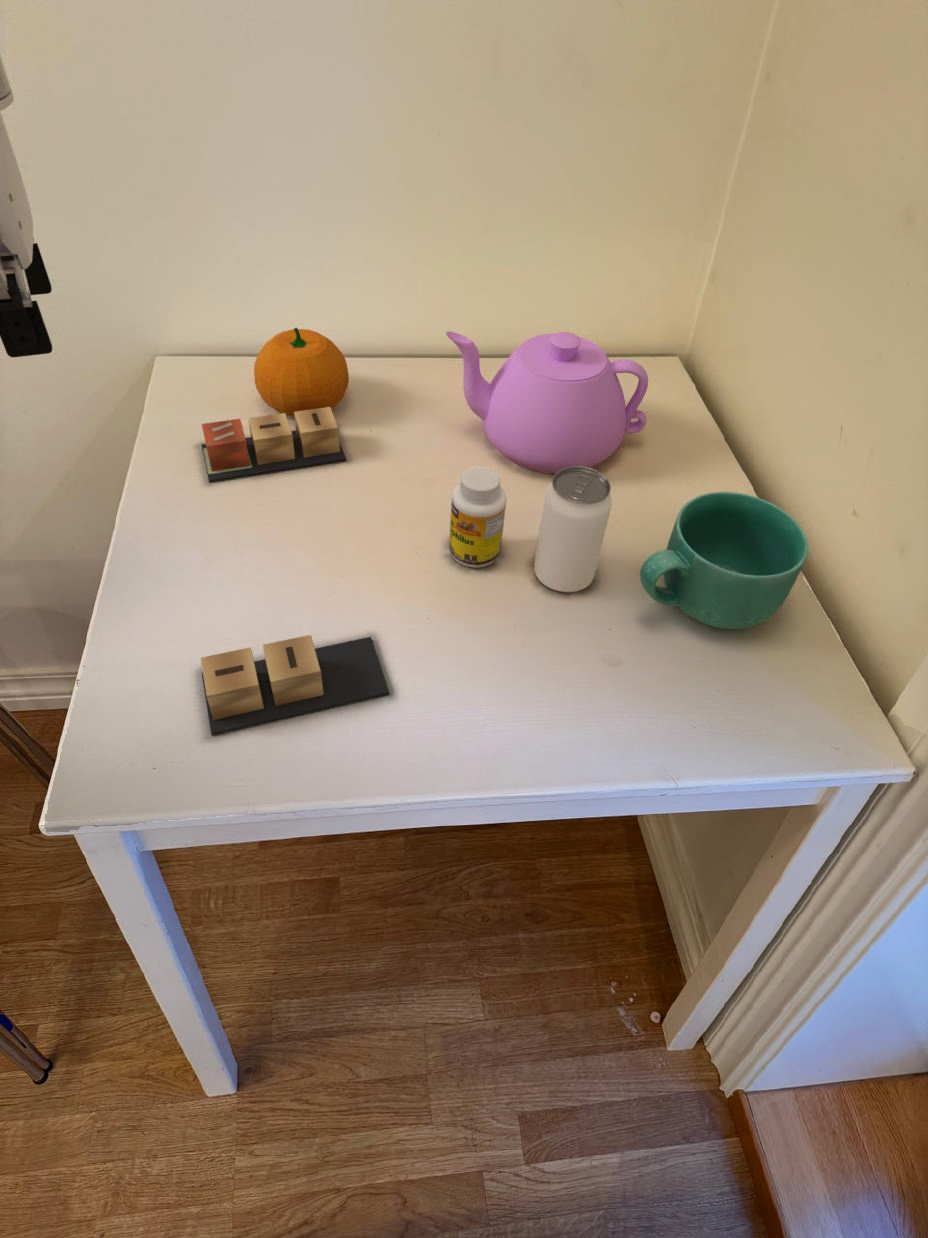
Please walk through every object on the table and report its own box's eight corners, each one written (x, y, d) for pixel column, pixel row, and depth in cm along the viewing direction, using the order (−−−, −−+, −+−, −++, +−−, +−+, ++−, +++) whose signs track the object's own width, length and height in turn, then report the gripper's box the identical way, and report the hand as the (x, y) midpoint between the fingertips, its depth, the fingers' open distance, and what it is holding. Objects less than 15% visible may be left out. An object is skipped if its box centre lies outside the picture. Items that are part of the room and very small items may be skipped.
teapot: (632, 403, 110) (655, 305, 100) (648, 487, 98) (676, 387, 88) (445, 392, 110) (448, 293, 100) (439, 476, 98) (442, 373, 88)
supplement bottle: (438, 547, 90) (441, 472, 82) (479, 528, 92) (485, 453, 84) (469, 577, 87) (475, 502, 79) (510, 557, 89) (520, 482, 82)
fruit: (238, 405, 105) (225, 333, 98) (299, 366, 112) (292, 295, 105) (309, 439, 101) (302, 366, 94) (368, 396, 108) (365, 325, 101)
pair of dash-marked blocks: (257, 465, 97) (253, 439, 94) (252, 443, 100) (247, 417, 97) (340, 452, 99) (338, 426, 97) (332, 431, 102) (330, 405, 99)
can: (524, 583, 87) (538, 493, 78) (544, 545, 91) (560, 456, 82) (583, 602, 85) (604, 514, 76) (601, 563, 89) (623, 474, 80)
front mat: (211, 736, 72) (211, 733, 72) (202, 675, 77) (201, 672, 76) (389, 694, 76) (389, 692, 76) (370, 639, 80) (370, 636, 80)
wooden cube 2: (275, 706, 74) (270, 681, 71) (267, 669, 77) (262, 643, 74) (324, 695, 75) (320, 670, 72) (314, 659, 78) (310, 633, 75)
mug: (739, 549, 92) (767, 482, 85) (799, 632, 84) (835, 566, 77) (602, 574, 88) (618, 505, 81) (651, 663, 80) (675, 596, 73)
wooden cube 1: (213, 720, 73) (206, 695, 70) (207, 682, 76) (200, 656, 73) (264, 709, 74) (258, 684, 71) (256, 671, 77) (250, 646, 74)
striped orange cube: (211, 471, 95) (206, 445, 93) (207, 449, 98) (201, 423, 95) (250, 465, 97) (245, 439, 94) (244, 443, 99) (240, 417, 97)
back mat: (209, 482, 95) (208, 479, 95) (202, 446, 99) (201, 443, 99) (346, 461, 99) (346, 457, 98) (333, 427, 103) (333, 424, 103)
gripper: (-106, 41, 58) (-15, 277, 71) (-140, 125, 48) (-25, 386, 60) (9, 38, 60) (78, 269, 73) (2, 119, 49) (84, 373, 62)
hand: (31, 322), depth 67 cm, fingers open, 9 cm apart
